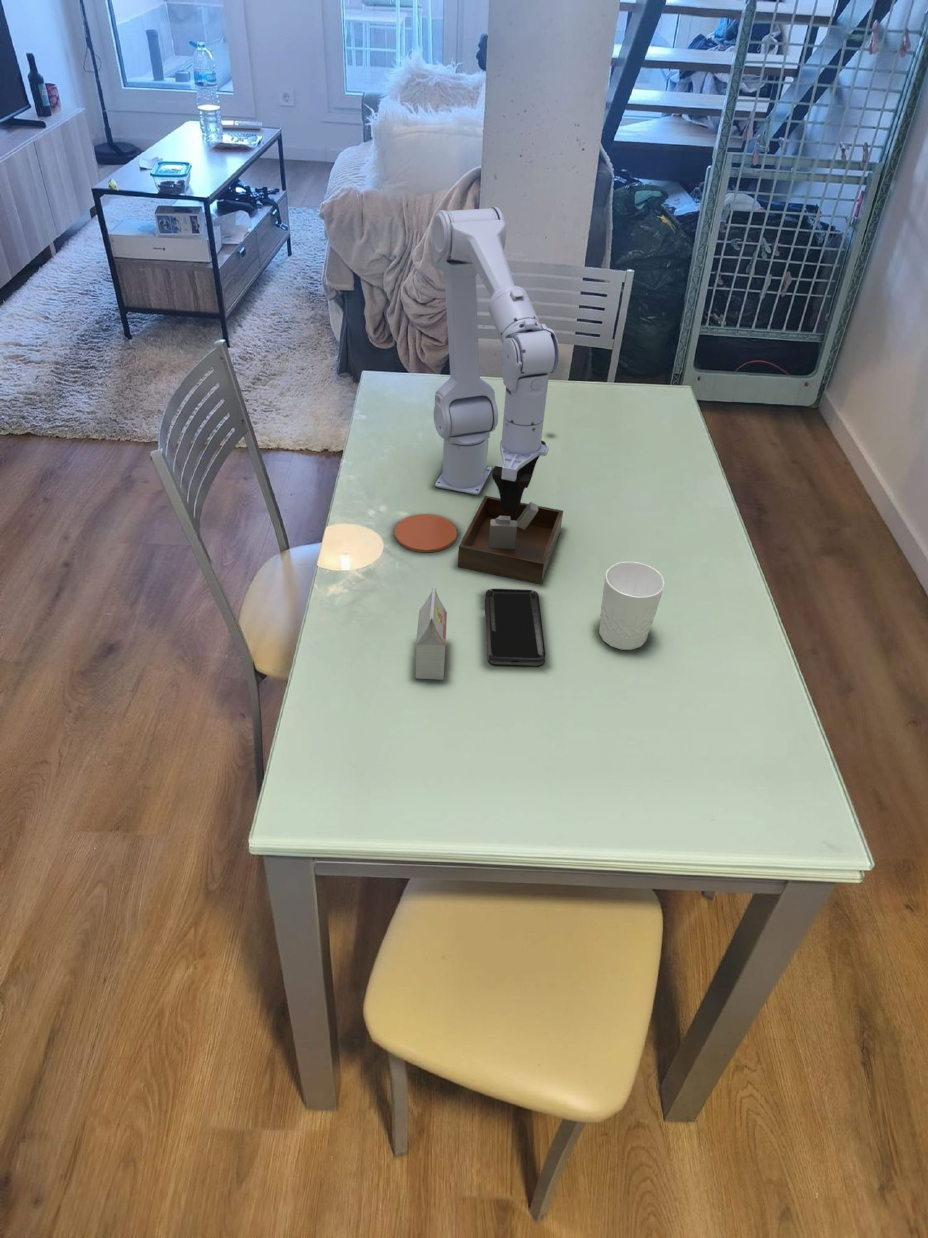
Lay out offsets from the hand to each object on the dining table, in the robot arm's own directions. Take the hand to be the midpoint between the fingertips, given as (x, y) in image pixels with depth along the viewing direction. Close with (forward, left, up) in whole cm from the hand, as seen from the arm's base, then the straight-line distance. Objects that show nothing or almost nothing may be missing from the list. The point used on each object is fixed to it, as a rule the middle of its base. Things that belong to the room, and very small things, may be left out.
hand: (515, 498), depth 125 cm
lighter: (0, 0, -9) cm, 9 cm away
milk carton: (+29, -4, -10) cm, 31 cm away
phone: (+19, +5, -9) cm, 22 cm away
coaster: (+1, -14, -9) cm, 17 cm away
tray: (0, 0, -9) cm, 9 cm away
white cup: (+15, +20, -10) cm, 27 cm away
